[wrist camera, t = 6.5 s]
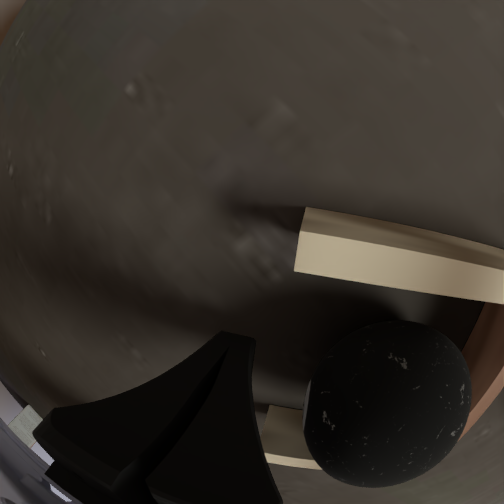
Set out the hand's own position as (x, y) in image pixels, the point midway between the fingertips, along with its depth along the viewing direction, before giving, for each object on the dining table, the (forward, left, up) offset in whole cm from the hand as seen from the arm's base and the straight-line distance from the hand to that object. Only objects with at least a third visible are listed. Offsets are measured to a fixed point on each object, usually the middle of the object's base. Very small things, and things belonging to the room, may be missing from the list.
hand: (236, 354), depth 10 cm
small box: (-38, -36, -2) cm, 53 cm away
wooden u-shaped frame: (+6, 0, -1) cm, 6 cm away
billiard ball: (+6, 0, -2) cm, 6 cm away
